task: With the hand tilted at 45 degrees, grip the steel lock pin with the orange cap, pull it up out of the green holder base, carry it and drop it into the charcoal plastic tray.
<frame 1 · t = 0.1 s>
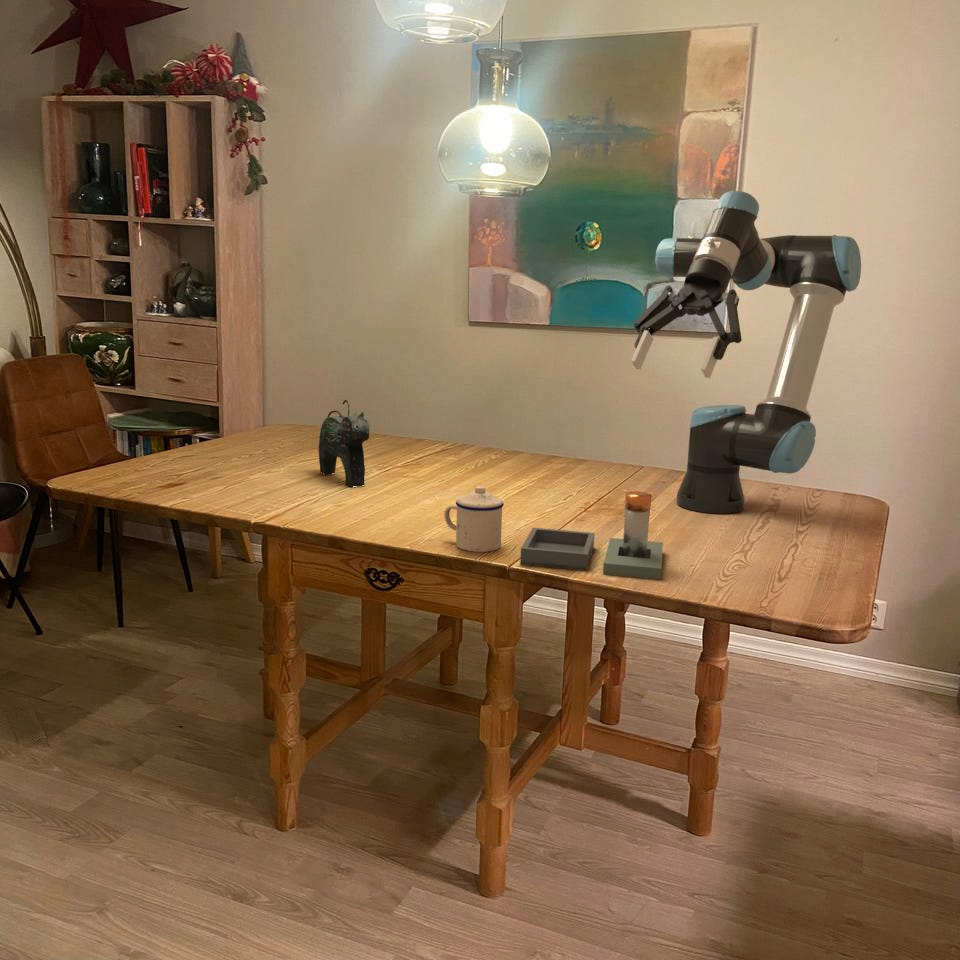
hand: (669, 369, 162), 36 cm above the table, tool tilted 35°, fingers open, 13 cm apart
ceramic cat: (340, 481, 228), on the table
green holder base: (633, 562, 171), on the table
lock pin: (636, 529, 170), in the green holder base
tray: (558, 555, 174), on the table
teacup with lid: (471, 545, 179), on the table
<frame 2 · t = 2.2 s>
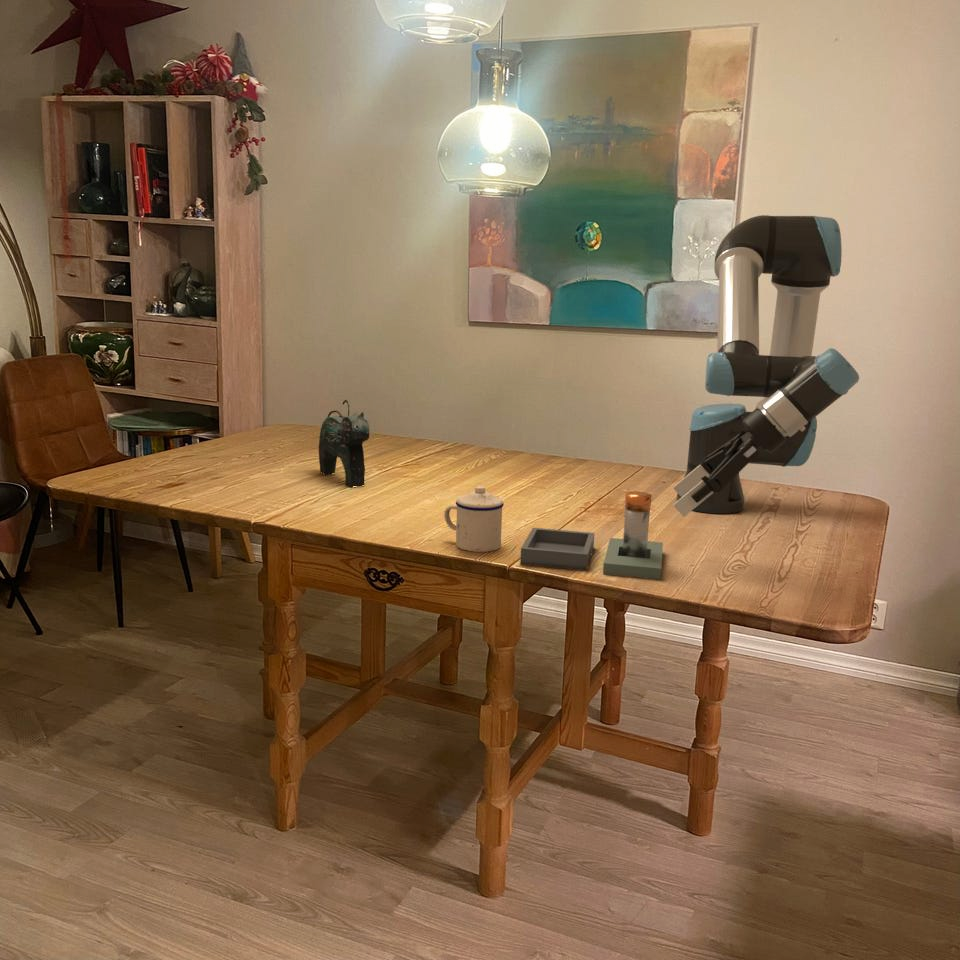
hand: (677, 501, 166), 13 cm above the table, tool tilted 45°, fingers open, 13 cm apart
nothing on the table moved.
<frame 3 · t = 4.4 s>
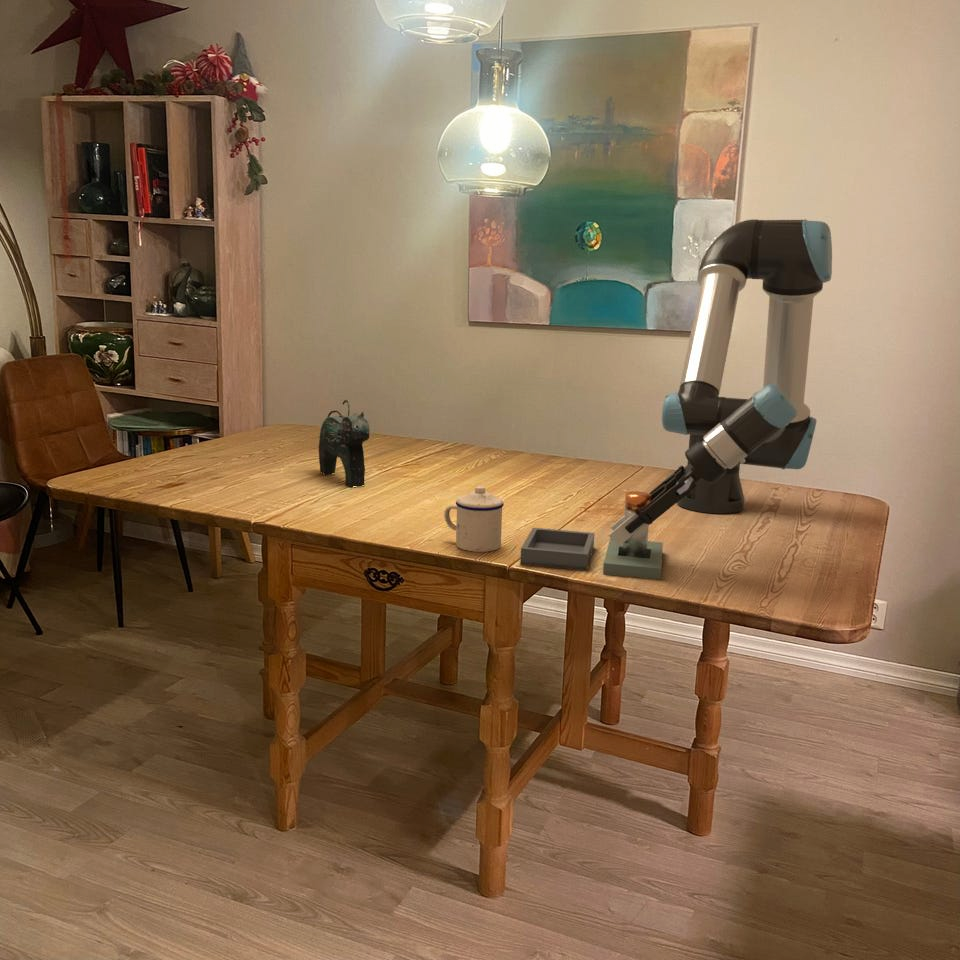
hand: (614, 536, 171), 5 cm above the table, tool tilted 45°, fingers closed on lock pin, 4 cm apart
lock pin: (636, 528, 170), in the green holder base, touching gripper
everything else where it was.
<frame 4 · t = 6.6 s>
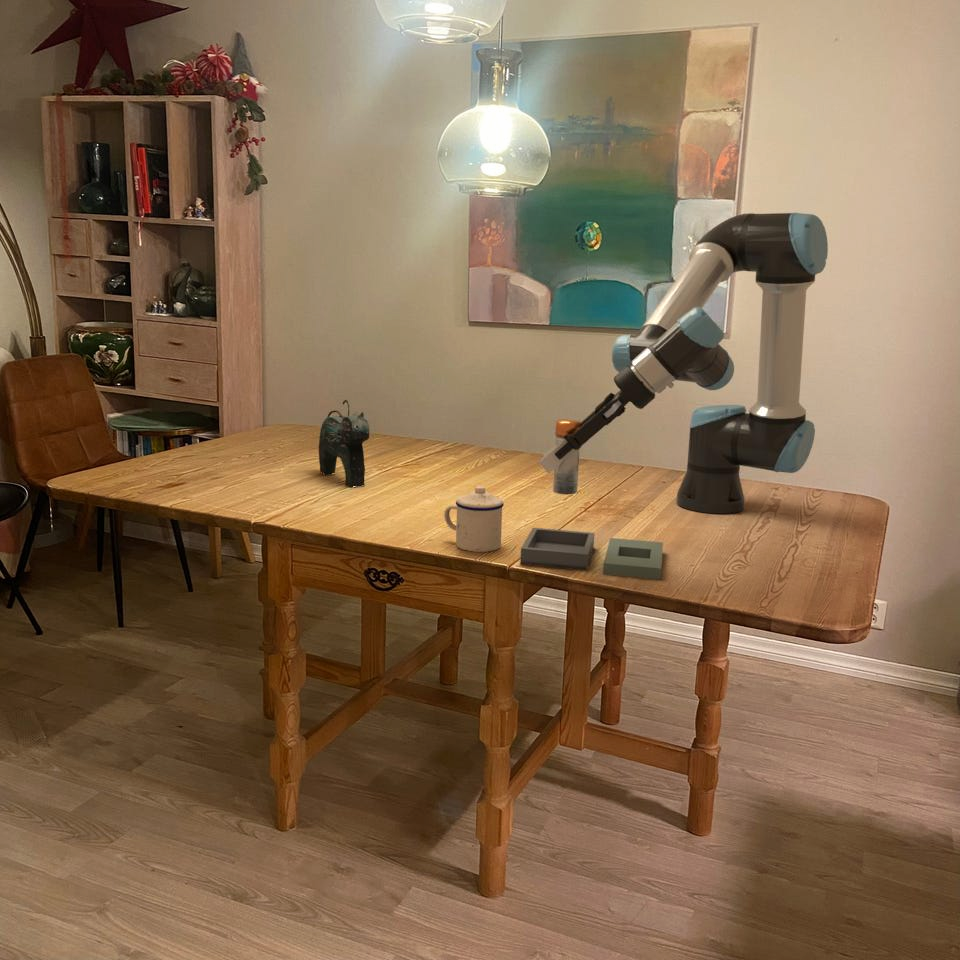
hand: (545, 464, 170), 17 cm above the table, tool tilted 45°, fingers closed on lock pin, 4 cm apart
lock pin: (566, 456, 169), point 19 cm above the table, touching gripper
everything else where it was.
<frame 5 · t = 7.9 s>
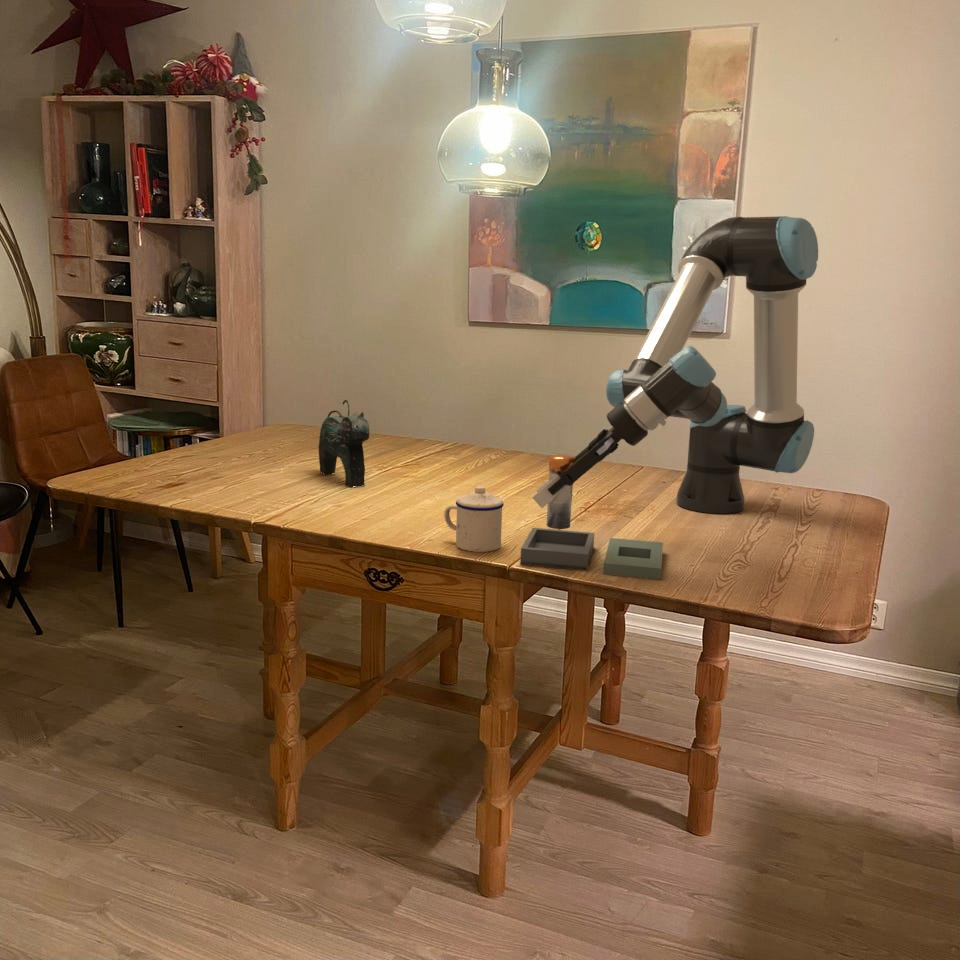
hand: (539, 499, 172), 11 cm above the table, tool tilted 45°, fingers closed on lock pin, 4 cm apart
lock pin: (560, 491, 171), point 12 cm above the table, touching gripper
everything else where it was.
when the fingers open (7 cm above the table, at t = 8.9 s): lock pin drops 1 cm, resting on tray.
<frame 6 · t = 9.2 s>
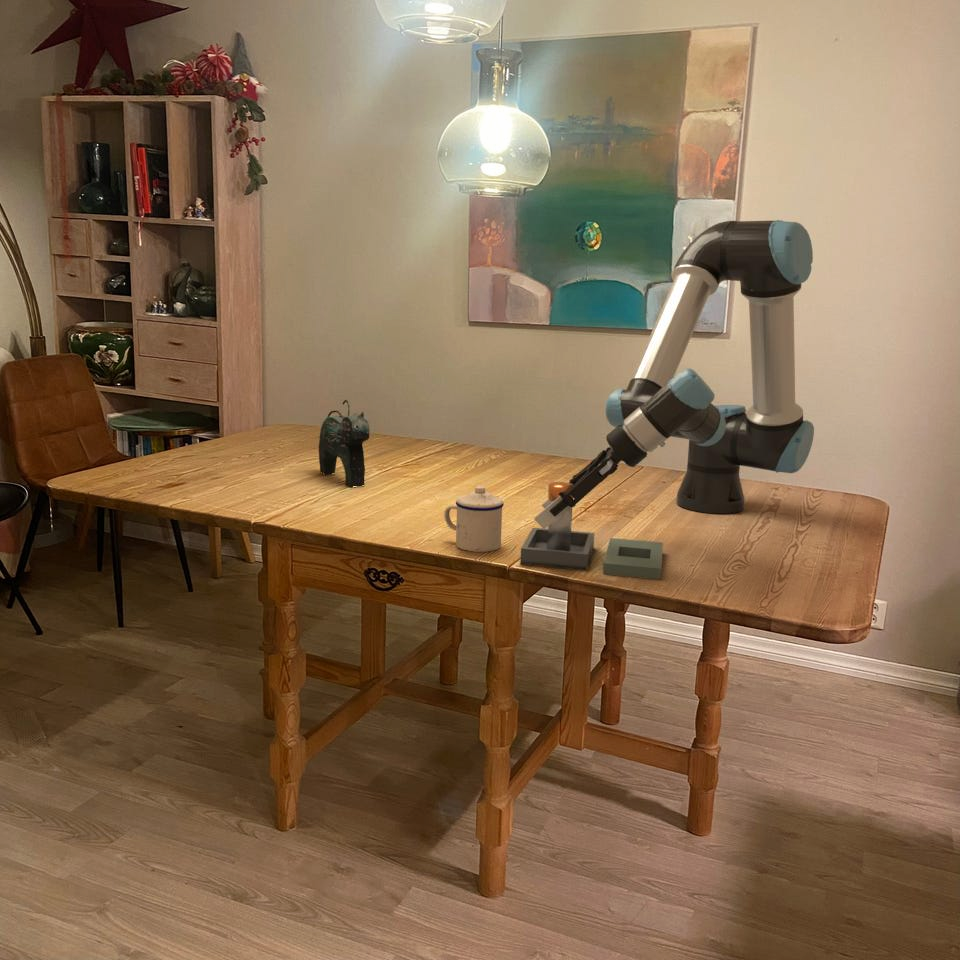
hand: (543, 516, 173), 7 cm above the table, tool tilted 45°, fingers open, 9 cm apart
lock pin: (559, 519, 172), in the tray, point 7 cm above the table
everything else where it was.
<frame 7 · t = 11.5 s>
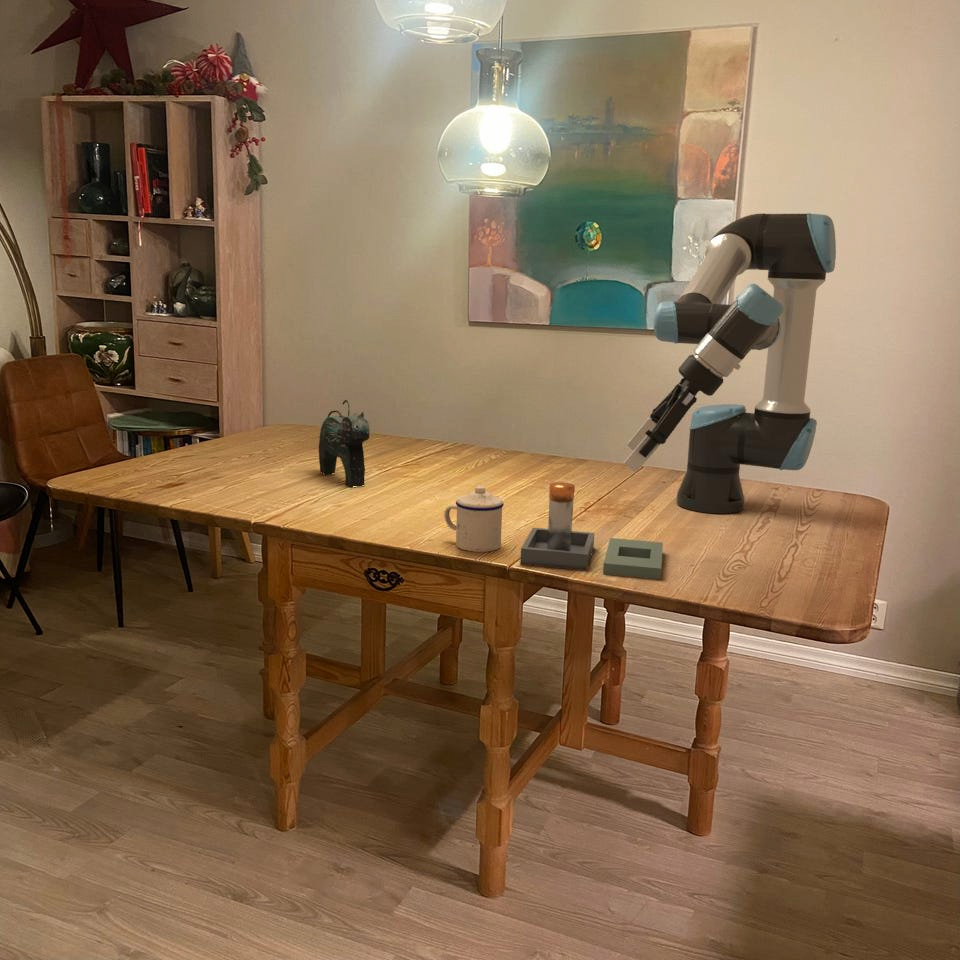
hand: (630, 458, 168), 19 cm above the table, tool tilted 35°, fingers open, 13 cm apart
nothing on the table moved.
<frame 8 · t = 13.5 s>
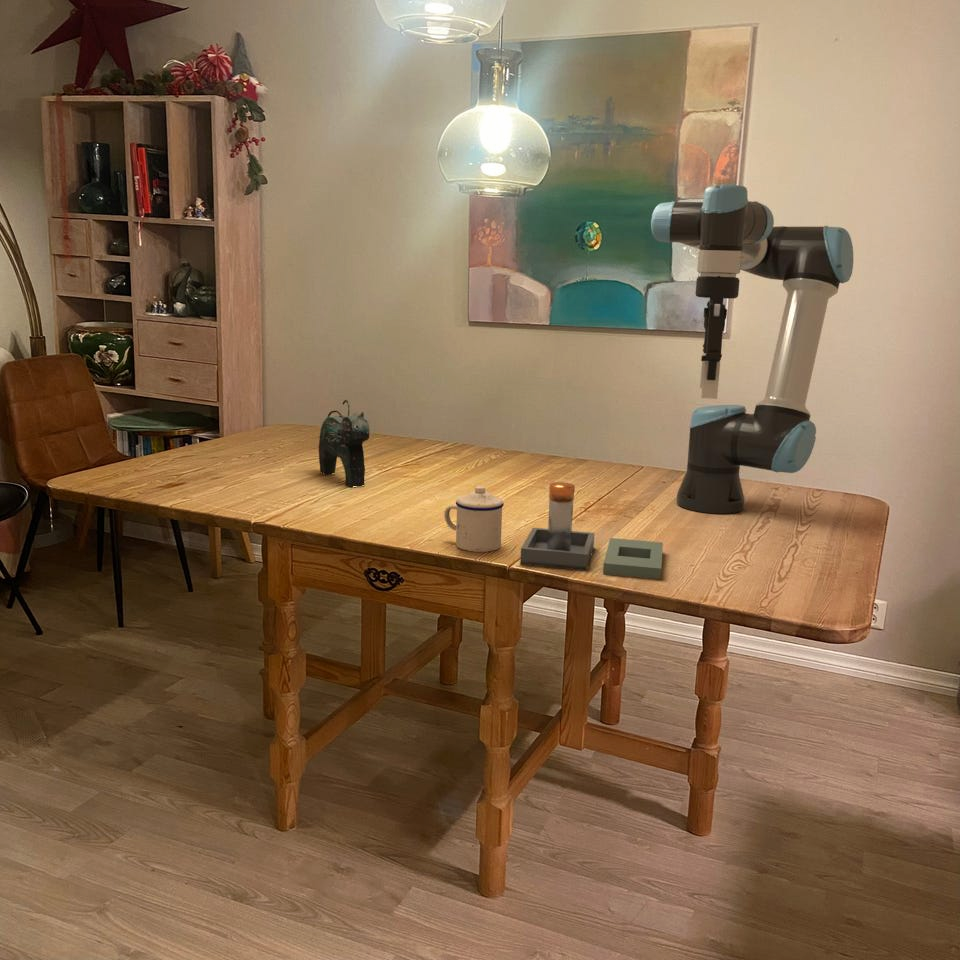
hand: (708, 393, 172), 31 cm above the table, tool pointing down, fingers open, 13 cm apart
nothing on the table moved.
at the end: lock pin inside the target area on the tray (0.0 cm from its centre), point 7.1 cm above the tray's base; the gripper is holding nothing; lock pin moved 14.0 cm from its start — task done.
